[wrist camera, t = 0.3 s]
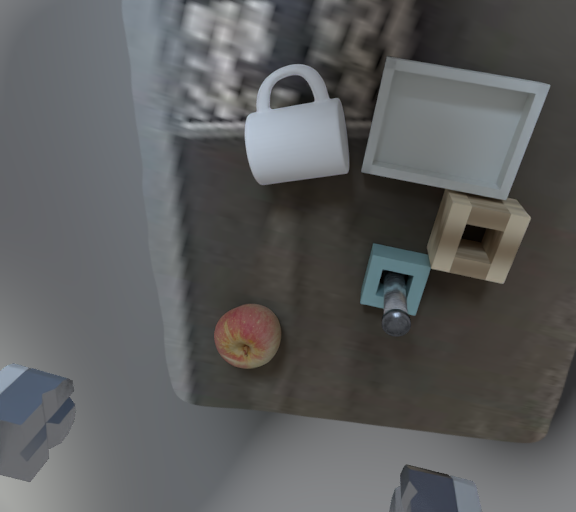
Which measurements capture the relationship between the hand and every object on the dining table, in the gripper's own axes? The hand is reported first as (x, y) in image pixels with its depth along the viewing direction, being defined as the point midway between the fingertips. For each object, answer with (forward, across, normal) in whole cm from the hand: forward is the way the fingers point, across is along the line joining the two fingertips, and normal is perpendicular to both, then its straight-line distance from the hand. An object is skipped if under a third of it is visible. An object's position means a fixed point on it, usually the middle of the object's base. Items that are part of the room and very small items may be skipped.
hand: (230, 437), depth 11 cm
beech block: (+47, -16, +9) cm, 50 cm away
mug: (+47, +6, +1) cm, 47 cm away
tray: (+47, -10, -1) cm, 48 cm away
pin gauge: (+47, -10, +18) cm, 51 cm away
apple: (+47, +8, +30) cm, 56 cm away
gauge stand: (+47, -10, +18) cm, 51 cm away
